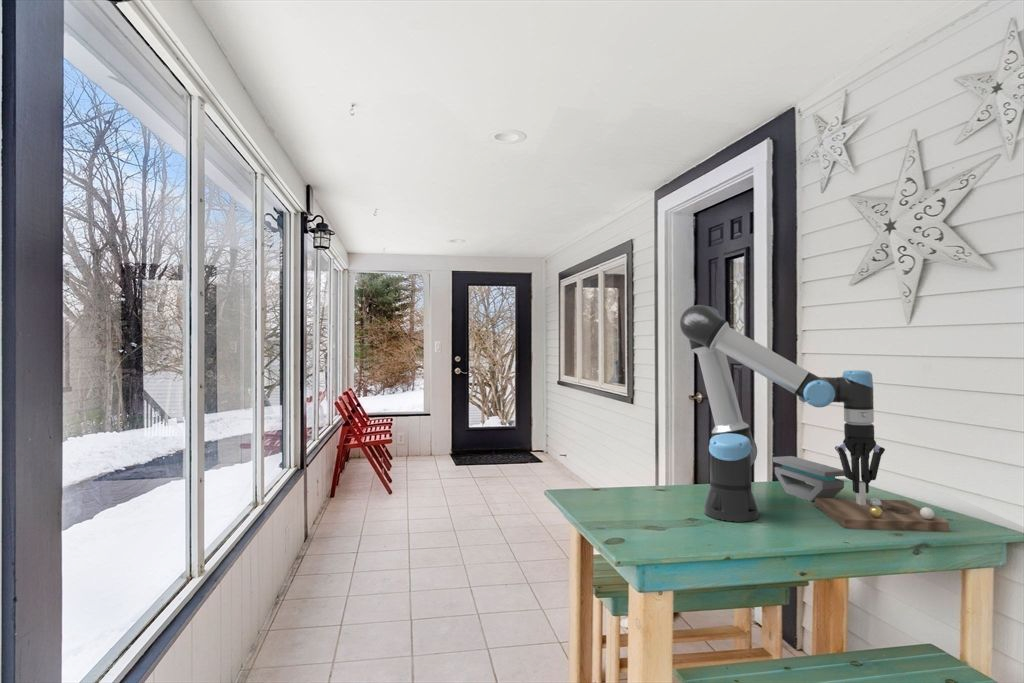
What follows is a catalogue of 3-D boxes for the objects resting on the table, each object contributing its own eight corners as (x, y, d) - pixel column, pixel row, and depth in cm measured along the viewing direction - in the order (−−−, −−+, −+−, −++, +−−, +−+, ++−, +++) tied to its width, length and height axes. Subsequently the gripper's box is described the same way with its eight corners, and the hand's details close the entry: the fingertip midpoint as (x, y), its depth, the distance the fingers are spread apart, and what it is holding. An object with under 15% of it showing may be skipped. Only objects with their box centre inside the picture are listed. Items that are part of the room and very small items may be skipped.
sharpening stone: (847, 505, 180) (846, 470, 180) (825, 507, 179) (824, 472, 179) (792, 486, 205) (791, 456, 205) (772, 487, 203) (772, 457, 203)
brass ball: (872, 519, 158) (872, 507, 158) (867, 515, 161) (866, 504, 161) (885, 519, 158) (884, 507, 158) (879, 516, 161) (879, 504, 161)
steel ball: (884, 511, 165) (872, 510, 166) (878, 508, 169) (867, 507, 169) (883, 499, 165) (871, 499, 166) (878, 497, 169) (866, 496, 169)
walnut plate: (845, 528, 158) (845, 519, 158) (815, 505, 180) (814, 498, 180) (948, 531, 155) (948, 522, 155) (905, 508, 176) (904, 500, 176)
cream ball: (923, 520, 156) (923, 509, 156) (917, 517, 159) (917, 505, 159) (936, 521, 156) (936, 509, 156) (930, 517, 159) (929, 506, 159)
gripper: (840, 425, 165) (842, 507, 165) (889, 424, 163) (891, 507, 163) (830, 421, 173) (832, 500, 172) (876, 421, 171) (879, 500, 170)
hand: (861, 503), depth 168 cm, fingers closed
